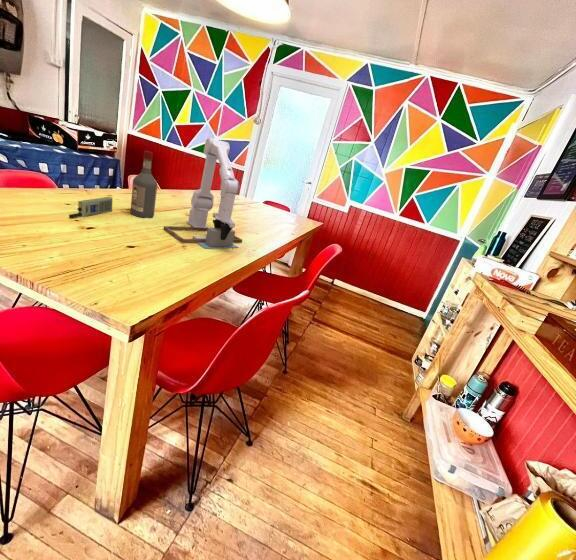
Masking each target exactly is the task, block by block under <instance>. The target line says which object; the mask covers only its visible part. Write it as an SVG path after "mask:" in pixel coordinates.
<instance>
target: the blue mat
mask: <svg viewBox="0 0 576 560" xmlns="http://www.w3.org/2000/svg"><path fill="white" fill-rule="evenodd" d="M197 245H199V246H200V247H202V248H204V249H205V250H206V249H211V250H212V249H239V246H238V245H235V243H233V245H232V246H209V245H207V244H206V243H197Z"/></svg>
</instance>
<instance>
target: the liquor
mask: <svg viewBox="0 0 576 560" xmlns="http://www.w3.org/2000/svg"><path fill="white" fill-rule="evenodd" d="M153 156H154V152H152V151H149V150H144V151H143V161H142V169H141V172H140V173H138V174H137V175H136V176H134V178H133V180H132V189H131V199H130V200H131V202H130V214H131V215H133V216H135V217H137V218H141V217H142V219H150V218H151V219H152V218H153V217H154V216H155V211H156V210H155V209H156V202H157V201H156V200H157V191H158V183H157V180H156V179H155V178H154V176H153V174H152V160H153ZM147 217H148V218H147Z"/></svg>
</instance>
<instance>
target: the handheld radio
mask: <svg viewBox="0 0 576 560" xmlns="http://www.w3.org/2000/svg"><path fill="white" fill-rule="evenodd" d="M77 206H78V207H77V211H78V213H71V214H68V217H69V218H70V219H72V218H76V217H80V218H86V217H92V216H97V215H101V214H106V213H111V212H113V197H111V196H105V197H97V198H92V199H91V198H90V199H85V200H78V201H77Z"/></svg>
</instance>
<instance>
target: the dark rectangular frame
mask: <svg viewBox="0 0 576 560" xmlns="http://www.w3.org/2000/svg"><path fill="white" fill-rule="evenodd" d="M207 229H208V228H203V227H193V226H176V225H175V226H169V225H163V231H165V232H166V233H168V234H169V235H170V236H172V237H173V238H174V239H176V241H177V240H178V242H180V243H181V244H198V243H205V240H206V239H195V238H183V237H182V236H181V235H179V234H178V233H177V232H175V231H182V230H185V232H186V231H188V232H190V231H192V232H207ZM242 243H243V239H242V238H240V237H238V236H237V235H235V236H234V240H233V244H242Z"/></svg>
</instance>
